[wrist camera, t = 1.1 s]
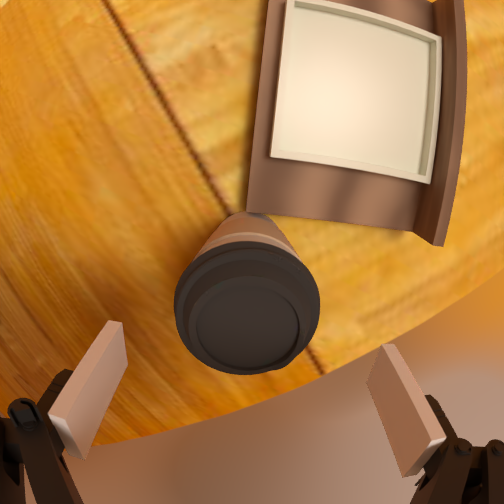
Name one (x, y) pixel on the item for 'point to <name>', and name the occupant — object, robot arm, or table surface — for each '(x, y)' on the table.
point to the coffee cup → (246, 298)
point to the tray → (357, 91)
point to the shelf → (359, 181)
